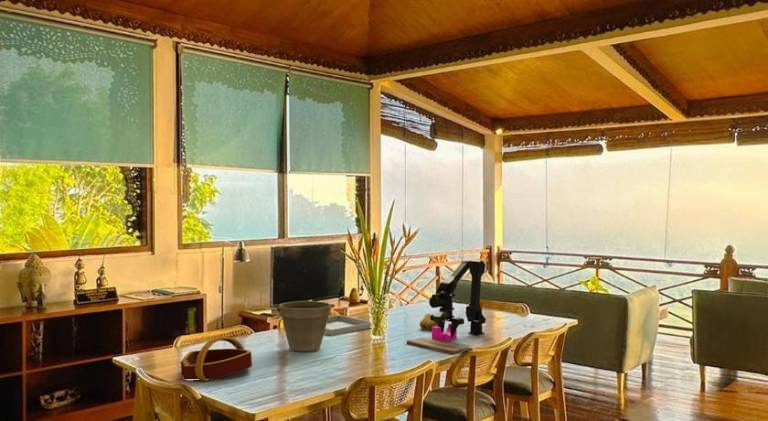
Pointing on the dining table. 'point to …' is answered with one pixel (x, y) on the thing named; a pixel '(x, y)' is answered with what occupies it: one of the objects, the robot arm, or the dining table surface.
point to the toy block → (443, 334)
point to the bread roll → (427, 322)
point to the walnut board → (437, 345)
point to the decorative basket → (216, 361)
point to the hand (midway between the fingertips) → (446, 335)
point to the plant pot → (305, 323)
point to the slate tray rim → (361, 325)
